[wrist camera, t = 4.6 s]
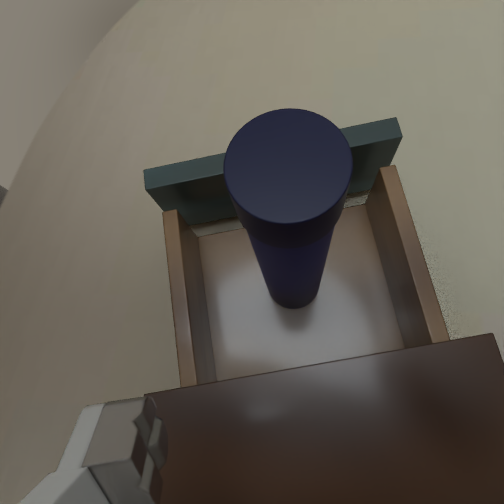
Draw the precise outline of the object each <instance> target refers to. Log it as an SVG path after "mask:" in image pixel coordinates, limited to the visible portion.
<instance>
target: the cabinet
mask: <svg viewBox="0 0 504 504" xmlns="http://www.w3.org/2000/svg"><path fill="white" fill-rule="evenodd" d="M503 367H504V363H503V360H502V357H501V354H500V351H499V349H498V346H497V343H496V340H495V337H494V334H493V333H489V334H483V335H477V336H472V337H466V338H460V339H455V340H449V341H443V342H438V343H432V344H426V345H421V346H415V347H409V348H404V349H398V350H392V351H386V352H381V353H375V354H369V355H364V356H358V357H352V358H347V359H341V360H335V361H330V362H324V363H318V364H313V365H307V366H301V367H296V368H290V369H284V370H279V371H273V372H267V373H262V374H256V375H250V376H245V377H239V378H233V379H228V380H222V381H216V382H211V383H205V384H199V385H194V386H188V387H182V388H177V389H171V390H165V391H160V392H154V393H148V394H144V397H145V396H151V397H153V400H154V402H155V404H156V406H157V409H156V414H155V415H156V416H157V417H159V418H161V419H162V420H163V421H164V424H165V426H166V430H167V435H168V455H167V462H166V463H165V465H164V466H163V467H162V468H161V470H160V471H159V473H160V475H161V477H162V479H163V486H162V492H161V498H160V504H504V375H503Z"/></svg>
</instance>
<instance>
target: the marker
mask: <svg viewBox="0 0 504 504" xmlns="http://www.w3.org/2000/svg"><path fill="white" fill-rule="evenodd" d="M223 173H224V180H225V184H226V187H227V190H228V192H229V195H230V197H231V200H232V202H233V205H234V208H235V210H236V213H237V215H238V218H239V220H240V222H241V223H242V225H243V227H244V228H245V229H246V230H247V233H248V236H249V239H250V241H251V244H252V247H253V250H254V252H255V255H256V258H257V261H258V263H259V266H260V269H261V272H262V274H263V277H264V280H265V283H266V285H267V288H268V291H269V293H270V295H271V297H272V298H273V300H274V301H275V302H276V303H278V304H279V305H281V306H283V307H285V308H290V309H297V308H302V307H304V306H306V305H308V304H309V303H311V302H312V301H313V300H314V298H315V297H316V295H317V293H318V290H319V286H320V282H321V278H322V274H323V270H324V266H325V263H326V259H327V255H328V251H329V247H330V243H331V239H332V235H333V231H334V227H335V225H336V223H337V222H338V220H339V218H340V216H341V213H342V210H343V207H344V203H345V200H346V196H347V192H348V189H349V185H350V182H351V177H352V173H353V157H352V152H351V149H350V146H349V144H348V141H347V140H346V138H345V136H344V135H343V133H342V132H341V131H340V130H339V129H338V128H337V127H336V126H335V125H334V124H333V123H332V122H331V121H329V120H328V119H326V118H325V117H323V116H321V115H319V114H316V113H314V112H311V111H307V110H302V109H290V108H289V109H279V110H273V111H270V112H267V113H264V114H262V115H259V116H257V117H256V118H254V119H252V120H251V121H249V122H248V123H246V124H245V125H244V126H243V127H242V128H241V129H240V130H239V131H238V132H237V133H236V135H235V136H234V137H233V139H232V140H231V142H230V144H229V146H228V148H227V151H226V154H225V158H224V164H223Z"/></svg>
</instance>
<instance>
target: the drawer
mask: <svg viewBox="0 0 504 504" xmlns="http://www.w3.org/2000/svg"><path fill="white" fill-rule="evenodd" d="M339 130H340V131H341V132H342V133H343V135H344V136H345V138H346V140H347V141H348V144H349V146H350V149H351V152H352V157H353V173H352V177H351V182H350V185H349V189H348V192H347V194H349V193H354V192H359V191H364V190H369V189H371V191H370V193H369V196H368V198H367V201H366V203H365V204H362V205H357V206H352V207H347V208H343V210H342V213H341V216H340V218H339V220H338V222H337V223H336V225H335V227H334V231H333V235H332V239H331V243H330V247H329V251H328V255H327V259H326V263H325V266H324V270H323V274H322V278H321V282H320V286H319V290H318V293H317V295H316V297H315V298H314V300H313V301H312V302H311V303H309V304H308V305H306V306H304V307H302V308H297V309H290V308H285V307H283V306H281V305H279V304H278V303H276V302H275V301H274V300H273V298H272V297H271V295H270V293H269V291H268V288H267V285H266V283H265V280H264V277H263V274H262V272H261V269H260V266H259V263H258V261H257V258H256V255H255V252H254V250H253V247H252V244H251V241H250V239H249V236H248V233H247V230H246V229H245V228H241V229H236V230H231V231H226V232H221V233H216V234H211V235H206V236H200V237H197V236H196V234H195V233H194V232H193V230H192V229H191V228H190V226H189V225H194V224H199V223H204V222H209V221H214V220H219V219H224V218H229V217H234V216H238V215H237V213H236V210H235V208H234V205H233V202H232V200H231V197H230V195H229V192H228V190H227V187H226V184H225V180H224V173H223V164H224V158H225V154H226V153H222V154H217V155H213V156H208V157H203V158H198V159H193V160H189V161H184V162H179V163H174V164H170V165H165V166H160V167H155V168H150V169H146V170H144V181H145V190H146V191H147V192H148V193H149V195H150V196H151V197H152V198H153V199H154V201H155V202H156V203H157V204H158V205H159V206H160V208H161V209H162V210H163V211H164V212H163V213H162V215H163V225H164V234H165V243H166V253H167V262H168V272H169V281H170V290H171V300H172V309H173V319H174V328H175V337H176V347H177V356H178V366H179V375H180V385H181V388H182V387H188V386H194V385H199V384H205V383H211V382H216V381H222V380H228V379H233V378H239V377H245V376H250V375H256V374H262V373H267V372H273V371H279V370H284V369H290V368H296V367H301V366H307V365H313V364H318V363H324V362H330V361H335V360H341V359H347V358H352V357H358V356H364V355H369V354H375V353H381V352H386V351H392V350H398V349H404V348H409V347H415V346H421V345H426V344H432V343H438V342H443V341H449V340H450V338H449V335H448V331H447V328H446V325H445V322H444V319H443V315H442V312H441V309H440V306H439V303H438V300H437V296H436V293H435V290H434V287H433V284H432V280H431V277H430V274H429V271H428V268H427V264H426V261H425V258H424V255H423V252H422V249H421V245H420V242H419V239H418V236H417V233H416V229H415V226H414V223H413V220H412V217H411V214H410V210H409V207H408V204H407V201H406V198H405V194H404V191H403V188H402V185H401V182H400V178H399V175H398V172H397V169H396V166H395V165H391V166H390V164H391V162H392V159H393V157H394V155H395V153H396V150H397V148H398V146H399V144H400V142H401V139H402V137H403V136H402V133H401V130H400V127H399V124H398V121H397V118H396V117H394V118H390V119H385V120H380V121H375V122H370V123H366V124H361V125H356V126H351V127H346V128H342V129H339Z"/></svg>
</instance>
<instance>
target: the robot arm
mask: <svg viewBox="0 0 504 504" xmlns="http://www.w3.org/2000/svg"><path fill="white" fill-rule="evenodd" d="M503 375H504V367H503ZM156 409H157V406H156V404H155V402H154V400H153V397H151V396H145V397H138V398H131V399H124V400H117V401H111V402H107V403H100V404H93V405H87V406H86V407H85V408H84V409H83V410H82V411H81V413H80V416H79V418H78V420H77V423H76V425H75V427H74V430H73V432H72V434H71V437H70V439H69V441H68V444H67V446H66V448H65V451H64V453H63V456H62V458H61V460H60V463H59V465H58V467H57V470H56V472H53V473H49V474H48V475H47V476H46V477H45V478H44V479H43V480H42V481H41V482H40V483H39V484H38V485H37V486H36V487H35V488H34V489H33V490H32V491H31V492H29V493H28V494H27V495H26V496H25V497H24V498H23V499H22V500H21V501H20V502H19V503H18V504H160V498H161V492H162V486H163V479H162V477H161V475H160V473H159V471H160V470H161V468H162V467H163V466H164V465H165V463H166V462H167V455H168V435H167V430H166V426H165V424H164V421H163V420H162V419H161V418H159V417H157V416H156V415H155V414H156Z"/></svg>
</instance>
